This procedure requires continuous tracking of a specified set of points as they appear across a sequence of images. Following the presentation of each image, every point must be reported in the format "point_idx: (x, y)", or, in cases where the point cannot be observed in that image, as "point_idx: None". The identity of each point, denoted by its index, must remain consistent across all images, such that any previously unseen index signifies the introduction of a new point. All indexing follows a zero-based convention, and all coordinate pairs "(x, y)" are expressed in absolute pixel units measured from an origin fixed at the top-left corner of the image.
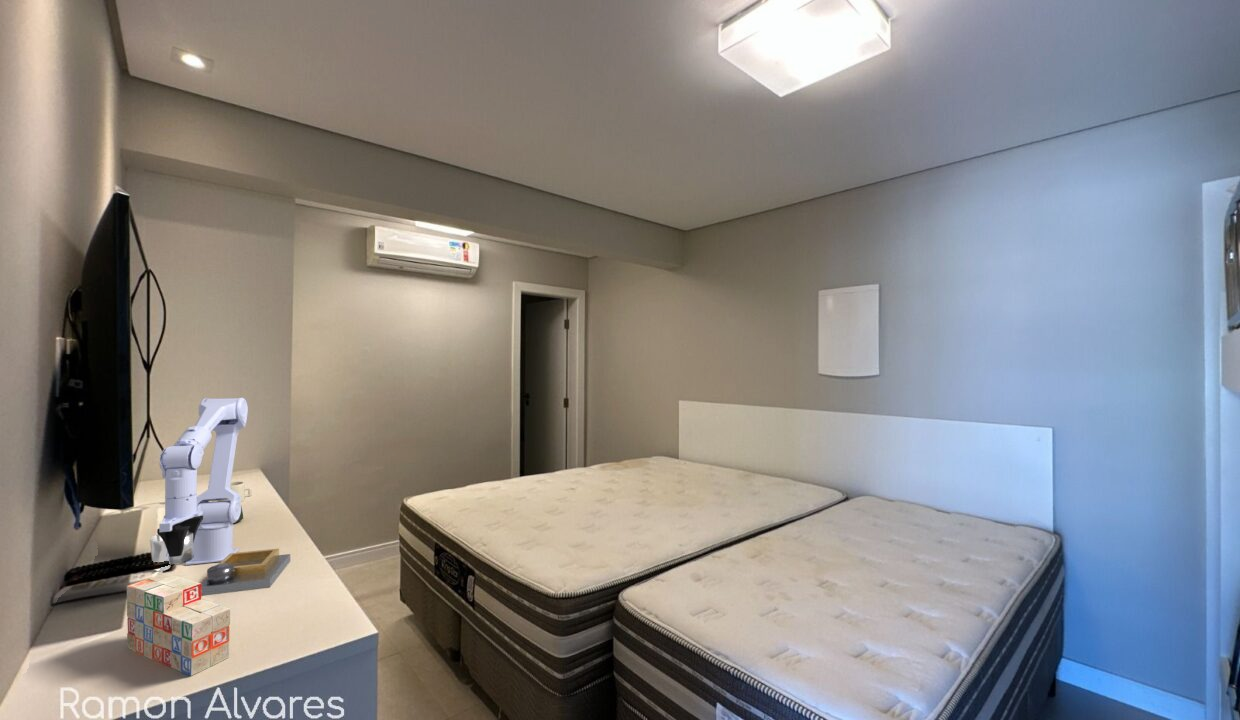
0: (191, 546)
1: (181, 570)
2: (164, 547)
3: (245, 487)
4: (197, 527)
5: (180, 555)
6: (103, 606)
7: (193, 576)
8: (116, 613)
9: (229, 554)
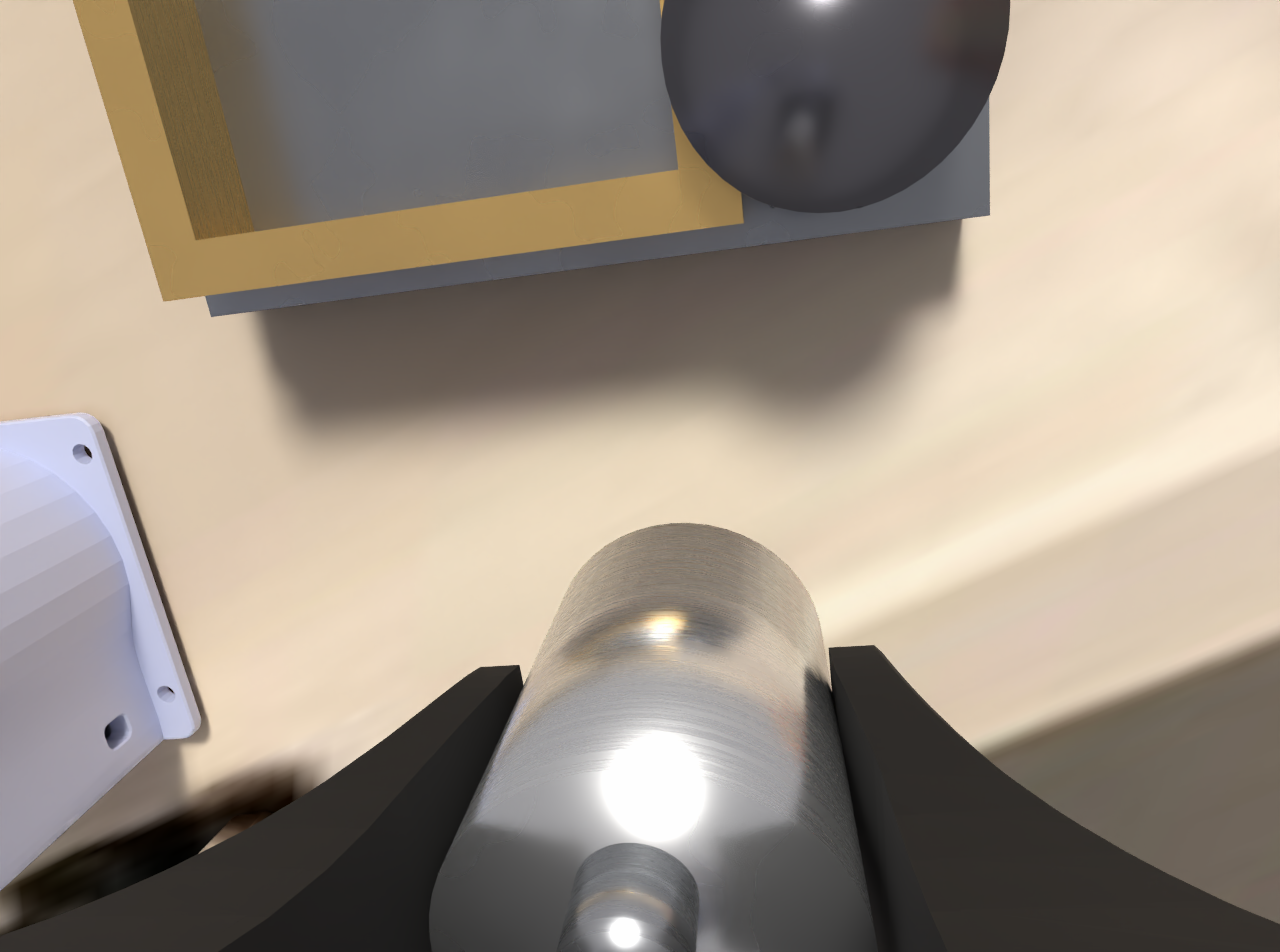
0: (678, 620)
1: (301, 702)
2: None
3: None
4: (254, 854)
5: (870, 646)
6: None
7: (443, 536)
8: (1139, 738)
9: (204, 285)
